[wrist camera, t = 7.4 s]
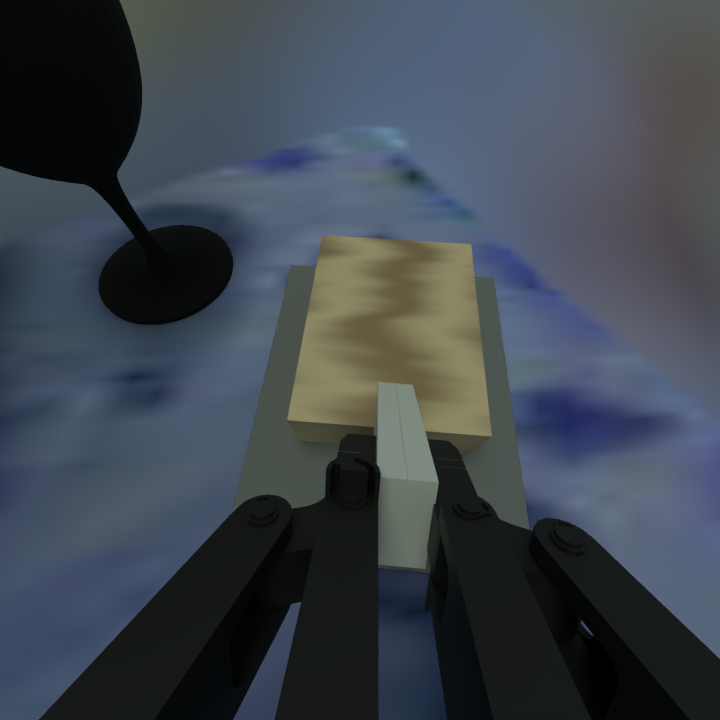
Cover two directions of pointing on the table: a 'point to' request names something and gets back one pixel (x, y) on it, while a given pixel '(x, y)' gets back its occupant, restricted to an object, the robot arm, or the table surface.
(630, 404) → the table surface
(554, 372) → the table surface
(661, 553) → the table surface
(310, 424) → the oak board
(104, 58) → the wine glass
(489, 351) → the rubber mat
